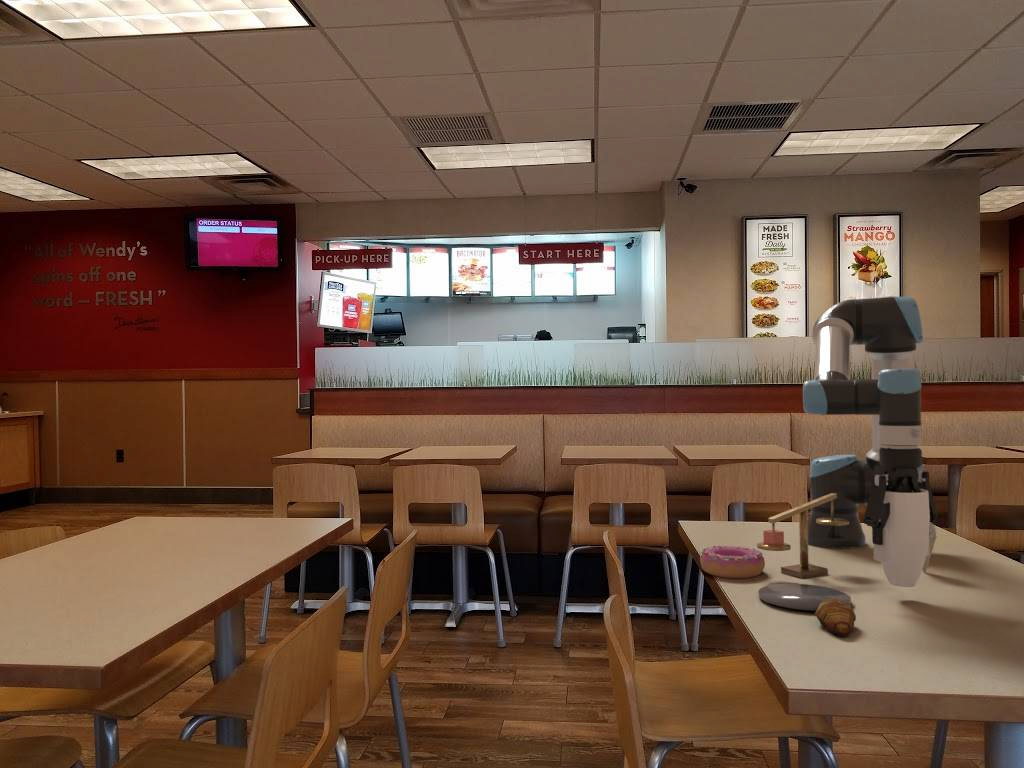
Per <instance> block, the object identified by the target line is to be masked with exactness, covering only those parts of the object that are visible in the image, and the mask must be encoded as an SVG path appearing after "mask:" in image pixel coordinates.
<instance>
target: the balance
mask: <svg viewBox="0 0 1024 768" xmlns="http://www.w3.org/2000/svg"><path fill="white" fill-rule="evenodd" d="M836 498H837V494H835V493H831V494H828V495H826V496H823V497H820V498H818V499H815V500H813V501H811V500H810V501H808V502H806V503H803V504H800V505H798V506H795V507H793V508H791V509H788V510H785V511H783V512H781V513H778V514H776V515H774V516H773V515H772V516H770V517H768V518H767V520H768V524H769V523H770V524H771V527H772V529H766V530H763V533H762V535H763V541H760V542H758V543H756V547H757V548H758V549H760V550H763V551H764V550H765V551H771V552H772V551H773V552H785V551H789V550H791V547H792V546H791V544H789V543H787V542H785V536H784V535H785V532H784V531H782V530H778V529H776V527H775V526H776V525H775V524H777V523H779V522H782V521H783V520H787V519H789V518H791V517H794V516H796V515H799V516H798V519H799V521H798V522H799V523H798V524H799V527H798V528H799V529H798V530H799V563H798V564H793V565H787V566H786V565H785V566H780V572H781V573H782V574H786V575H790V576H792V577H795V578H800V579H805V578H811V577H816V576H817V577H818V576H824V575H829V568H827V567H824V566H820V565H815V564H813V563H809V544H808V520H809V515H808V513H809V512H808V511H809V510H811V508H814V507H816V506H819V505H821V504H824V503H826V502H829V501H831V518H818V519H816V523H818V524H822V525H830V526H844V525H849V521H848V520H845V519H839V518H834V514H833V500H834V499H836Z"/></svg>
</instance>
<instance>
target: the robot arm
mask: <svg viewBox="0 0 1024 768" xmlns="http://www.w3.org/2000/svg"><path fill="white" fill-rule="evenodd" d="M923 337H924V336H923V327H922V320H921V315H920V309H919V305H918V302H917V300H916V299H915V298H914V297H911V296H887V297H874V298H873V297H871V298H857V299H855V298H852V299H847V300H842V301H839V302H837V303H836V304H833V305H832V306H830V307H829V308H827V309H826V310H825V311H823V312H822V313H821V314H820V316H818V318H817V319H816V321H815V323H814V325H813V328H812V336H811V338H812V341H813V343H814V345H815V356H814V357H815V358H814V371H813V372H814V373H813V379H810V380H809V379H808V380H806V381H804V383H803V384H802V405H803V412H804V413H806V414H807V415H820V416H825V415H826V416H827V415H829V416H830V415H831V416H833V415H834V416H835V415H840V416H841V415H844V416H845V415H847V416H848V415H849V416H850V415H856V416H857V415H860V416H861V415H863V416H864V415H865V416H869V415H871V416H872V417H871V420H872V423H871V424H872V428H871V430H872V431H871V432H872V433H871V434H872V435H871V436H872V440H871V442H872V444H871V445H872V447H871V449H870V450H869V451H868V452H866V453H865V459H866V460H864V459H863V460H860V459H859V458H858V456H857V455H856V454H837V455H829V456H822V457H816V458H815V459H813V460H812V461H811V462H810V468H809V469H810V470H809V476H808V477H809V478H810V501H813V500H815V499H818V498H820V497H823V496H826V495H828V494H831V493H835V494H837V498H836V499H834V500H833V514H834V518H839V519H845V520H848V521H849V525H844V526H830V525H822V524H818V523H816V519H818V518H831V501H829V502H826V503H824V504H821V505H819V506H816V507H814V508H811V509H810V514H809V516H808V545H813V546H817V547H824V548H831V549H832V548H833V549H834V548H835V549H855V548H862V547H865V546H866V534H865V533H864V530H863V527H862V523H861V521H860V518H859V514H858V513H859V511H858V508H859V507H858V506H859V505H860V506H861V505H862V506H863V505H864V506H866V507H865V508H866V509H865V511H864V512H865V513H864V517H863V524H864V525H866V526H868V527H871V529H872V530H871V535H872V544H873V560H874V561H876V562H877V561H878V562H880V563H881V562H885V563H887V562H889V551H888V528H884V527H885V525H886V522H887V520H888V518H889V515H890V502H889V503H885V504H884V503H883V501H884V497H885V493H886V492H889V491H890V492H898V493H920V492H921V490H920V489H924V490H927V491H928V494H929V511H930V522H931V523H932V524H934V523H935V522H936V519H937V518H938V517H939V516H938V515H939V514H938V510H937V506H936V503H935V500H934V496H933V491H932V487H931V484H930V472H929V471H925V470H924V465H923V451H922V449H921V448H919V446H922V420H921V419H922V409H921V408H922V390H921V389H922V386H923V385H922V381H921V373H920V371H919V370H918V369H916V368H910V358H911V356H912V355H913V354H914V353H915V352H916V351H917V344H921V343H922V342H923V341H924V338H923ZM851 345H854V346H855V345H857V346H859V345H860V346H861V345H862V346H864V352H865V353H866V354H867V355H868V356H869V357H870V358H871V379H869V378H868V379H851V372H850V371H851V369H850V368H851V366H850V365H851V363H850V361H851V360H850V359H851V358H850V357H851V356H850V355H851V354H850V350H851V349H850V347H851ZM858 459H859V460H858ZM879 520H880V521H879ZM929 536H930V527H929ZM926 556H929V544H928V548H927V553H926Z"/></svg>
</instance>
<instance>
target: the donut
mask: <svg viewBox="0 0 1024 768" xmlns="http://www.w3.org/2000/svg"><path fill="white" fill-rule="evenodd" d="M699 554H700V557H699V562H700V567H701V568H702V571H704V572H705V573H706V574H709V575H711V576H713V577H719V578H727V579H747V578H748V579H749V578H754V577H757V576H759V575H761V574H762V573H763V571H764V569H765V565H766V561H765V558H764V554H763V552H761V551H759V550H757V549H755V548H750V547H745V546H744V547H743V546H734V545H723V546H722V545H713V546H711V547H710V546H709V547H705V548H703V549H702V550H701V551H700V552H699Z"/></svg>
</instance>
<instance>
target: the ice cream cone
mask: <svg viewBox="0 0 1024 768" xmlns="http://www.w3.org/2000/svg"><path fill="white" fill-rule="evenodd" d="M936 530H937V529H936V525H935V524H934V523H931V522H930V536H929V556H926V558H925V563H924V566H923V569H922V571H923V573H926V572H927V570H928V566H929V563H930V559H931V556H932V553H933V550H934V546H935V543H936V540H937V538H938V537H937V531H936Z"/></svg>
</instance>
